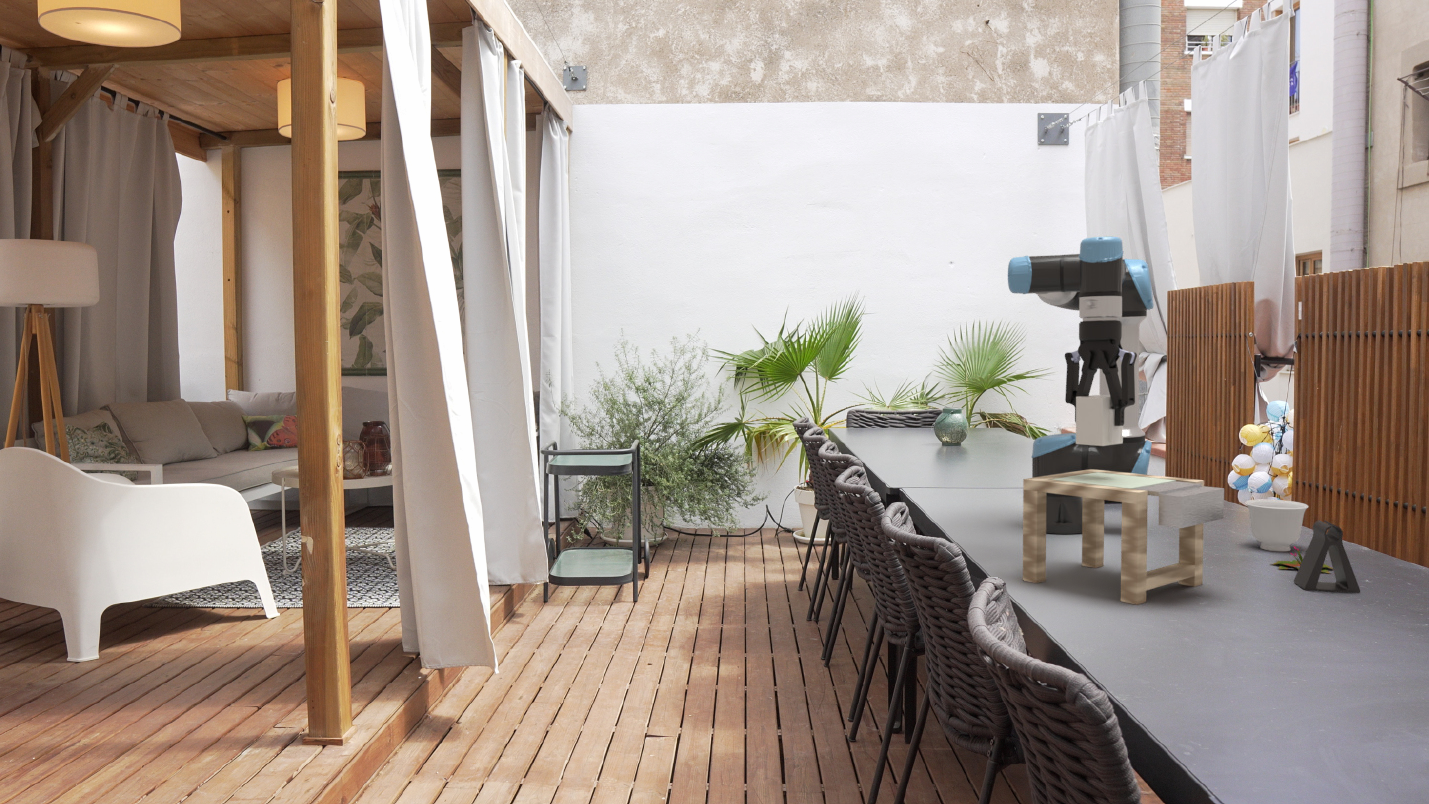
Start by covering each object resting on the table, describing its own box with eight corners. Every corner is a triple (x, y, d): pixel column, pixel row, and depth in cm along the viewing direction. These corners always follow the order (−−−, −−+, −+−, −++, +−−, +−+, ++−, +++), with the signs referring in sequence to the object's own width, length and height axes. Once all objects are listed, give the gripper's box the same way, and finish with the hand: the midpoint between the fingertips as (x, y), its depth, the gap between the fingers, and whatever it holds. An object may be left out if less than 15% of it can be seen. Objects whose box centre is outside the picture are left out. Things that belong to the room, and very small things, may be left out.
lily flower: (1269, 573, 192) (1269, 550, 192) (1267, 561, 203) (1267, 539, 203) (1340, 579, 187) (1341, 556, 187) (1335, 566, 197) (1335, 544, 197)
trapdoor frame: (1022, 580, 186) (1023, 479, 185) (1090, 563, 200) (1091, 469, 199) (1137, 604, 168) (1138, 492, 167) (1202, 584, 182) (1204, 480, 181)
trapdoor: (1224, 518, 175) (1225, 485, 174) (1179, 528, 165) (1180, 494, 165) (1097, 501, 195) (1097, 472, 194) (1050, 510, 185) (1050, 479, 185)
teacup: (1284, 541, 221) (1285, 497, 220) (1318, 555, 206) (1319, 508, 206) (1229, 540, 222) (1229, 497, 222) (1258, 554, 207) (1259, 507, 207)
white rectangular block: (1075, 443, 185) (1076, 396, 185) (1096, 441, 190) (1096, 395, 189) (1102, 446, 181) (1102, 397, 180) (1122, 443, 185) (1123, 396, 185)
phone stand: (1347, 585, 180) (1349, 521, 180) (1360, 593, 174) (1362, 526, 174) (1293, 582, 182) (1294, 519, 182) (1304, 590, 177) (1305, 525, 176)
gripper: (1045, 321, 189) (1044, 440, 190) (1136, 318, 174) (1134, 447, 175) (1067, 321, 193) (1066, 437, 195) (1158, 318, 179) (1156, 444, 180)
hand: (1098, 441), depth 185 cm, fingers closed on white rectangular block, 5 cm apart
